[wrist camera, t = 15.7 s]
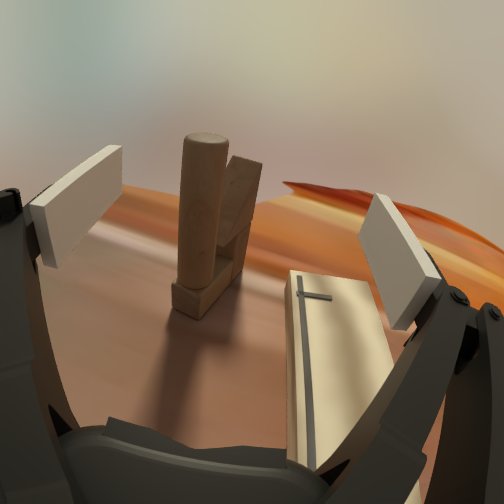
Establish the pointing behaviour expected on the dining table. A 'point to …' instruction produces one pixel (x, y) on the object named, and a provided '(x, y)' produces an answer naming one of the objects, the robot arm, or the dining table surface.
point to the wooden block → (212, 221)
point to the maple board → (331, 363)
